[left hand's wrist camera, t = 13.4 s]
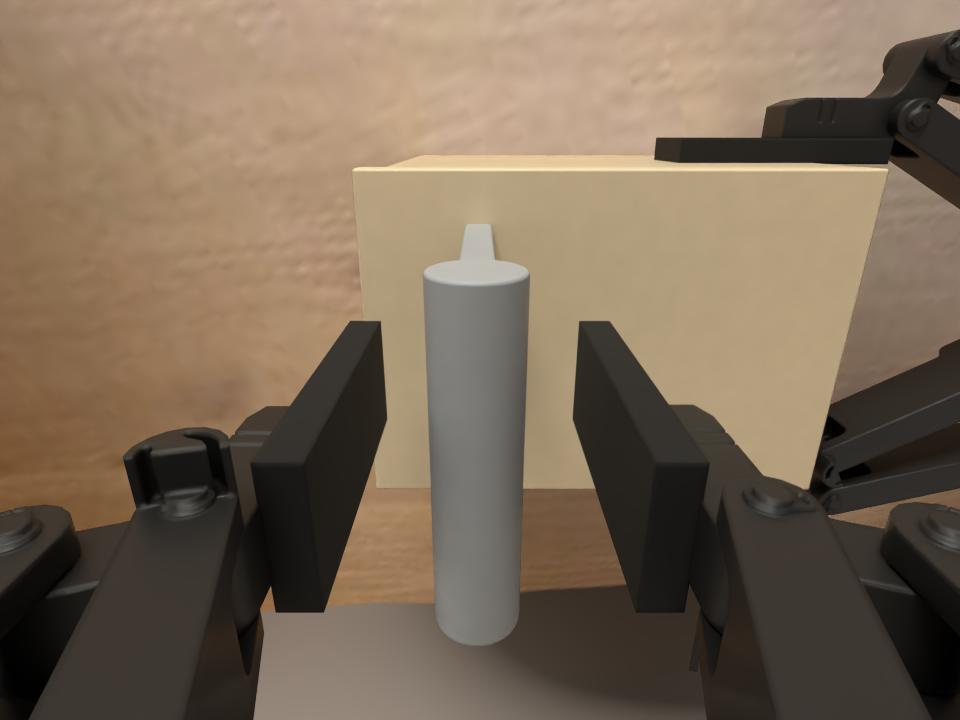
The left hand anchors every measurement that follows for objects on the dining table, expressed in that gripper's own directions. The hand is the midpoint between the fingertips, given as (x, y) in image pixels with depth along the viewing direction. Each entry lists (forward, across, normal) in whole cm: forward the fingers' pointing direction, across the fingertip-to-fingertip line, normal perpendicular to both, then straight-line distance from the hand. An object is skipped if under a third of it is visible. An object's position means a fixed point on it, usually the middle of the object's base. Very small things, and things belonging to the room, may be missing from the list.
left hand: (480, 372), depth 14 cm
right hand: (+7, +6, 0) cm, 9 cm away
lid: (+3, +4, 0) cm, 5 cm away
